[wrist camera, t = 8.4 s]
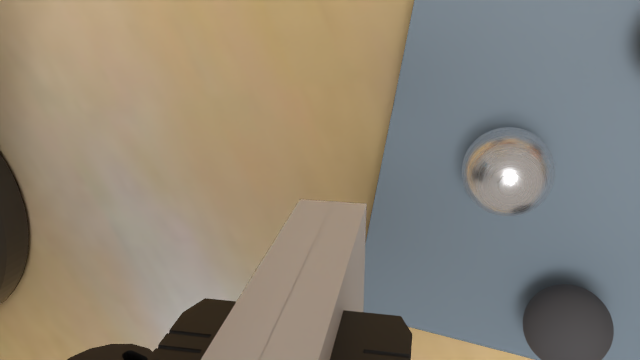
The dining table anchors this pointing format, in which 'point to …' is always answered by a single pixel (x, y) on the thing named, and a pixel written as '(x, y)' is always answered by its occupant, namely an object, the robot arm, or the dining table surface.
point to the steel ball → (508, 171)
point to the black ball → (567, 324)
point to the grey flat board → (531, 115)
